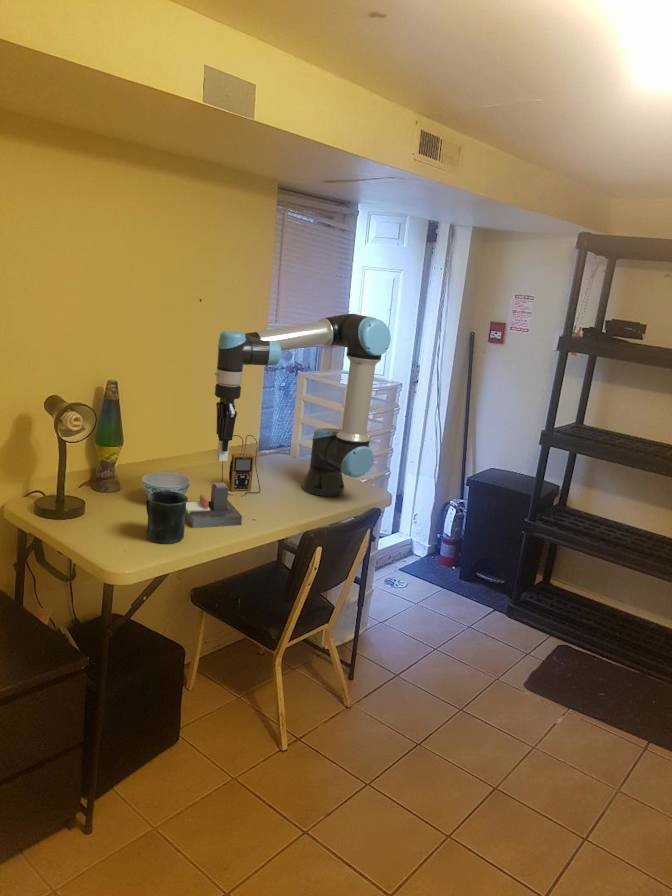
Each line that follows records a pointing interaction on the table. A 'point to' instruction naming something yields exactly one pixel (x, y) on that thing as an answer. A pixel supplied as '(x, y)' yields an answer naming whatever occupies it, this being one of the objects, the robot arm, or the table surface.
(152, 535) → the mug
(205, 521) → the socket plate
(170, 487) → the chinaware
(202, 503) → the shutter
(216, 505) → the gray rectangular block
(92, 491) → the table surface
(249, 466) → the multimeter
